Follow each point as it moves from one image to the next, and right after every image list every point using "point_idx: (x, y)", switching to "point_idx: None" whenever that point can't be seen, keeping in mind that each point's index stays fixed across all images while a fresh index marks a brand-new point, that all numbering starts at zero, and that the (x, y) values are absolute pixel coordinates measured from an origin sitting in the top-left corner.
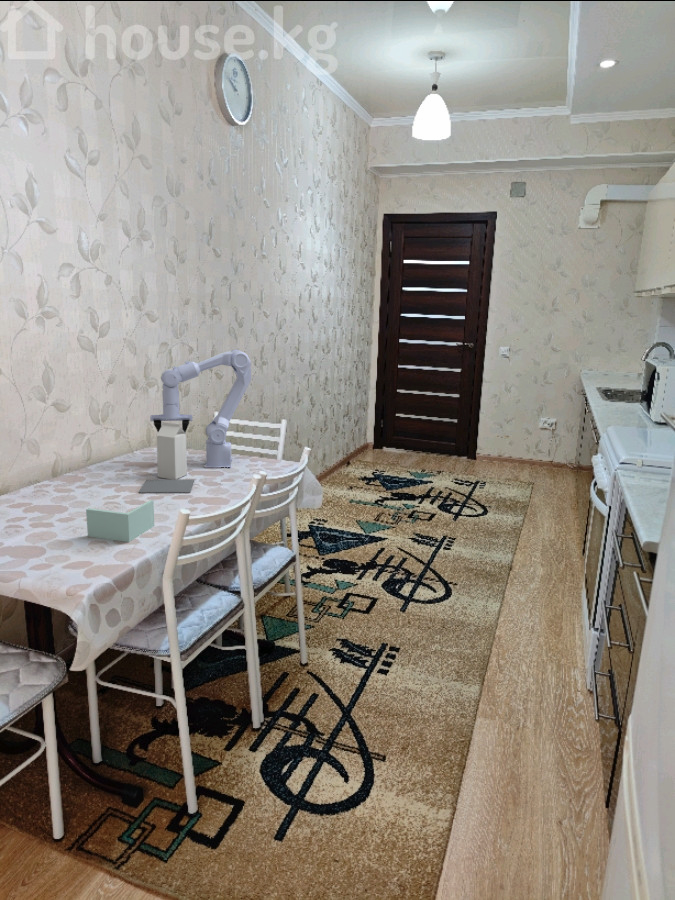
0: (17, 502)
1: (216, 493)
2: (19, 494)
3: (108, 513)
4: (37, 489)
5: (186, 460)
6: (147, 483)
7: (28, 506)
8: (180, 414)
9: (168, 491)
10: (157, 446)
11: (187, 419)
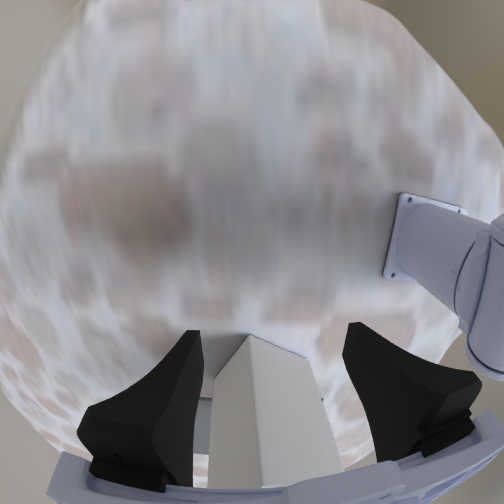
0: (38, 427)
1: (346, 446)
2: (15, 400)
3: None
4: (16, 388)
5: (320, 398)
6: (196, 422)
7: (61, 443)
8: (445, 480)
9: None
10: (210, 471)
11: (450, 451)
